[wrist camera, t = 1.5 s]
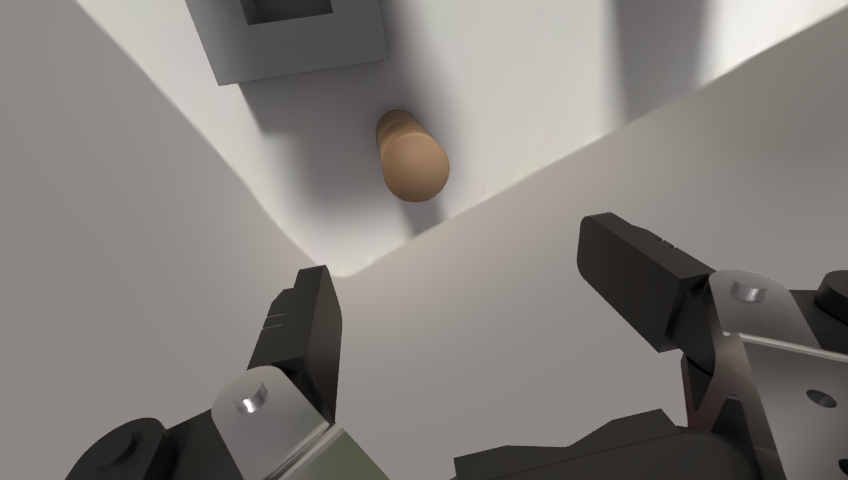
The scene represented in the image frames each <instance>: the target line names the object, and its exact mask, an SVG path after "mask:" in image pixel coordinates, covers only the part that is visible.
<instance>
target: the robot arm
mask: <svg viewBox="0 0 848 480" xmlns="http://www.w3.org/2000/svg"><path fill="white" fill-rule="evenodd" d="M577 265H578V269H579V272H580V274H581V276H582V277H583V278H584V279H585V280H586V281H587V282H588V283H589V284H590V285H591V286H592V287H593V288H594V289H595V290H596V291H597V292H598V293H599V294H600V295H601V296H602V297H603V298H604V299H605V300H606V301H607V302H608V303H609V304H610V305H611V306H612V307H613V308H614V309H615V310H616V311H617V312H618V313H619V314H620V315H621V316H622V317H623V318H624V319H625V320H626V321H627V322H628V323H629V324H630V325H631V326H632V327H633V328H634V329H635V330H636V331H637V332H638V333H639V334H640V335H641V336H642V337H643V338H645V340H646V341H648V343H650V345H651V346H652V347H654V349H655V350H656V351H657V352H658V353H660V352H665V351H669V350H673V349H678V348H679V349H681V350H682V351H683V352H684V353H683V356H682V359H681V370H682V379H683V387H684V396H685V404H686V412H687V421H688V427H683V426H675V425H674V423H673V422H672V421H671V420H670V419H669V417H668V416H667V415H666V414H665V413H664V412H663V411H662V409H657V410H652V411H649V412H644V413H640V414H636V415H632V416H628V417H624V418H619V419H615V420H611V421H610V422H608V423H607V424H605V425H603V426H602V427H600V428H598V429H597V430H595V431H594V432H592V433H590V434H589V435H587V436H585V437H584V438H583V439H581V440H579V441H577V442H576V443H574V444H572V445H570V446H567V447H537V446H507V445H506V446H502V447H498V448H494V449H490V450H486V451H481V452H477V453H473V454H469V455H465V456H460V457H456V458H454V464H455V471H456V476H455V477H454V478H452V479H451V480H848V270H840V271H833V272H830V273H828V274H826V275H825V277H824V279H823V281H822V283H821V285H820V286H819V288H818V290H788V289H786V288H785V287H784V286H783V285H781V284H780V283H778V282H776V281H774V280H772V279H770V278H767V277H765V276H762V275H759V274H756V273H752V272H747V271H741V270H721V271H715V270H714V269H712V268H710V267H709V266H707V265H705V264H703V263H702V262H700V261H698V260H697V259H695V258H693V257H692V256H690V255H688V254H687V253H685V252H683V251H682V250H680V249H678V248H674V246H673V245H672V244H670V243H668V242H667V241H665V240H664V241H662V239H661V238H660V237H658V236H657V235H655V234H653V233H652V232H650V231H648V230H646V229H643V228H640V227H637V226H634V225H631V224H630V223H628V222H626V221H625V220H623V219H621V218H620V217H618V216H617V215H615V214H613V213H611V212H607V213H601V214H596V215H591V216H586V217H584V218H583V219H582V222H581V226H580V235H579V244H578V253H577ZM341 335H342V315H341V310H340V306H339V302H338V299H337V296H336V293H335V289H334V286H333V283H332V280H331V277H330V273H329V270H328V268H327V266H326V265H322V266H316V267H311V268H306V269H300V270H299V272H298V275H297V278H296V281H295V284H294V288H290V289H285V290H283V291H282V292H281V293H280V294H279V295H278V296H277V298H276V299H275V300H274V301H273V302H272V304H271V307H270V309H269V312H268V315H267V318H266V320H265V323H264V325H263V330H262V331H261V333H260V336H259V339H258V341H257V344H256V347H255V349H254V352H253V355H252V357H251V360H250V363H249V365H248V368H247V371H245V372H243V373H241V374H240V375H238V376H236V377H235V378H234V379H232V380H231V381H230V382H229V383H228V384H226V386H224V387H223V389H222V390H221V391H220V392H219V394H218V395H217V397H216V398H215V400H214V402H213V405H212V408H211V409H210V410H208V411H205V412H204V413H201V414H199V415H197V416H195V417H193V418H191V419H189V420H187V421H184V422H182V423H180V424H178V425H176V426H174V427H172V428H170V429H167V430H166V429H165V427H164V426H163V425H162V424H161V422H159V420H157V419H155V418H141V419H136V420H133V421H130V422H128V423H125V424H123V425H121V426H119V427H118V428H116V429H114V430H112V431H111V432H109V433H108V434H106V435H105V436H104V437H102V438H101V439H99V440H98V441H97V442H96V443H95V444H93V445H92V446H91V447H90V448H89V449H88V450H87V451H86V452H85V453H84V454H83V455H82V457H81V458H80V459H79V460H78V461H77V463H76V464H75V465H74V467H73V468H72V470H71V471H70V473H69V474H68V476H67V477H66V479H65V480H390V479H389V478H388V477H387V476H386V475H385V474H384V473H383V472H382V471H381V469H380V468H379V467H378V466H377V465H376V464H375V463H374V462H373V461H372V460H371V459H370V457H369V456H368V455H367V454H366V453H365V452H364V451H363V450H362V449H361V448H360V446H359V445H358V444H357V443H356V442H355V441H354V440H353V439H352V438H351V437H350V435H349V434H348V433H347V432H346V431H345V430H344V429H343V428H342V427H341V426H340V425H338V424H337V423H336V422H335V411H336V398H337V386H338V373H339V360H340V348H341Z"/></svg>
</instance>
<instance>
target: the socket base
mask: <svg viewBox="0 0 848 480" xmlns="http://www.w3.org/2000/svg"><path fill="white" fill-rule="evenodd" d="M185 2H186V4H187V7H188V9H189V12H190V14H191V17H192V19H193V22H194V24H195V27H196V30H197V32H198V35H199V37H200V40H201V42H202V45H203V47H204V50H205V52H206V55H207V58H208V60H209V63H210V65H211V68H212V70H213V73H214V75H215V78H216V80H217V83H218V85H219V86H223V85H229V84H235V83H242V82H248V81H254V80H261V79H267V78H273V77H280V76H286V75H292V74H299V73H305V72H311V71H318V70H324V69H331V68H337V67H343V66H350V65H356V64H362V63H369V62H375V61H381V60H388V59H389V56H388V49H387V43H386V37H385V31H384V25H383V19H382V13H381V7H380V1H379V0H330V2H331V6H332V10H333V13H330V14H323V15H316V16H309V17H302V18H295V19H288V20H282V21H275V22H268V23H261V21H260V18H259V15H258V12H257V8H256V5H255V2H254V0H185Z"/></svg>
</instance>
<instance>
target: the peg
mask: <svg viewBox="0 0 848 480" xmlns="http://www.w3.org/2000/svg"><path fill="white" fill-rule="evenodd" d="M376 137H377V143H378V148H379V153H380V159H381V164H382V169H383V175H384V179H385V182H386V184H387V186H388V188H389V189H390V191H391V192H392V193H393V194H394V195H395V196H397V197H398V198H400V199H402V200H405V201H409V202H422V201H426V200H428V199H430V198H432V197H434V196H435V195H437V194H438V193H439V192H440V191H441V190H442V188H443V187H444V185H445V184H446V182H447V179H448V175H449V161H448V158H447V155H446V153H445V152H444V150H443V149H442V148H441V146H440V145H439V144H438V143H437V142H436V141H435V140H434V139H433V138H432V137H431V135H430V134H429V133H428V132H427V131H426V130H425V129H424V128H423V127H422V126H421V124H420V123H419V122H418V121H417V120H416V119H415V118H414V117H413V116H412V115H411V114H410V113H408V112H406V111H402V110H394V111H390V112H388V113H386V114H385V115H384V116H383V117H382V118H381V119H380V120H379V122H378V125H377V128H376Z"/></svg>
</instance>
